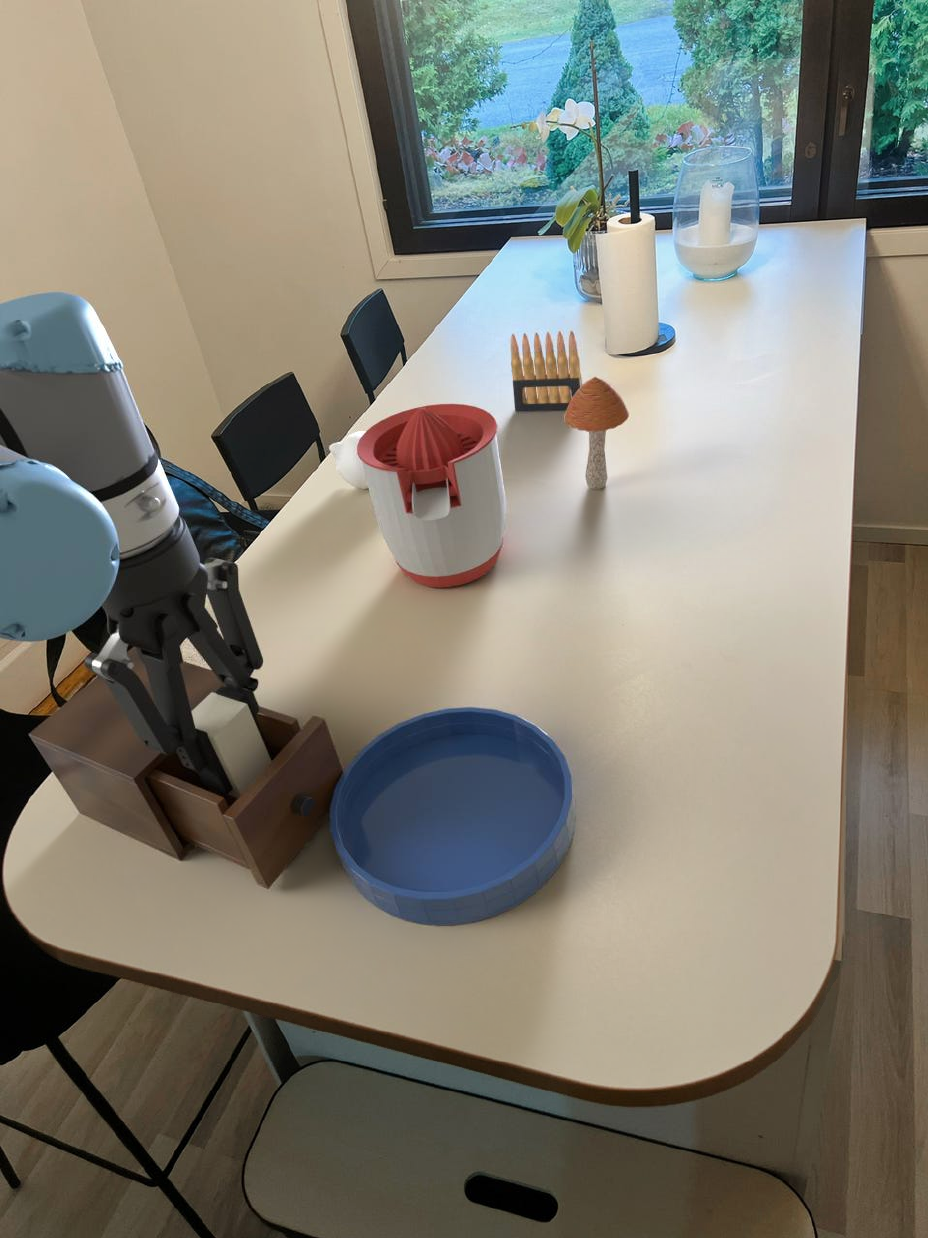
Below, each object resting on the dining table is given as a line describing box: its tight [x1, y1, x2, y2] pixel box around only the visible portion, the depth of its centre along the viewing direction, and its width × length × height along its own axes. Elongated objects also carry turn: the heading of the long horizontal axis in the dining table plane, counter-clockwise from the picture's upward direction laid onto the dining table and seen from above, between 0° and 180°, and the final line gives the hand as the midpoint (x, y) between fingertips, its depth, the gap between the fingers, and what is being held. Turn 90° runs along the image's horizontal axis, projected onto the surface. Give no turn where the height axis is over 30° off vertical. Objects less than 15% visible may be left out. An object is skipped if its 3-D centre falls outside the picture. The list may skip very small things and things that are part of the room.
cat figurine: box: [328, 430, 369, 490], centre depth 121 cm, size 9×11×12 cm
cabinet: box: [28, 646, 226, 861], centre depth 79 cm, size 14×13×11 cm
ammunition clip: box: [510, 330, 583, 413], centre depth 131 cm, size 11×2×12 cm, turn 74°
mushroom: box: [563, 376, 630, 491], centre depth 110 cm, size 8×8×15 cm
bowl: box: [329, 706, 576, 927], centre depth 73 cm, size 20×20×4 cm
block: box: [191, 692, 272, 798], centre depth 72 cm, size 4×4×8 cm
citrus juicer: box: [357, 403, 507, 588], centre depth 99 cm, size 16×17×20 cm
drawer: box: [144, 705, 344, 890], centre depth 74 cm, size 14×11×9 cm
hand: (236, 766), depth 73 cm, fingers closed on block, 4 cm apart
